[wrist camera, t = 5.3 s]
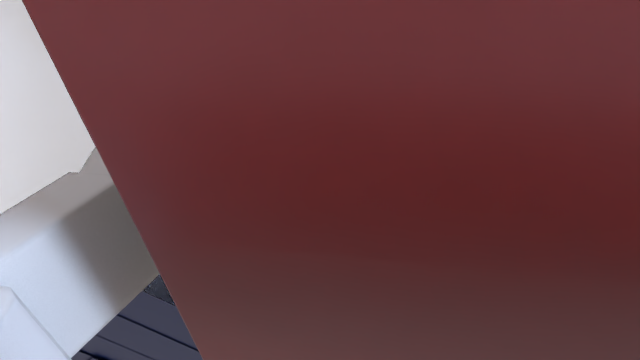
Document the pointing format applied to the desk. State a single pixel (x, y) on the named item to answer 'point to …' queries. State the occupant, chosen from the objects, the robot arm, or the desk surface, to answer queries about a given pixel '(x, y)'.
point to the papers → (142, 334)
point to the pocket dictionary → (373, 169)
